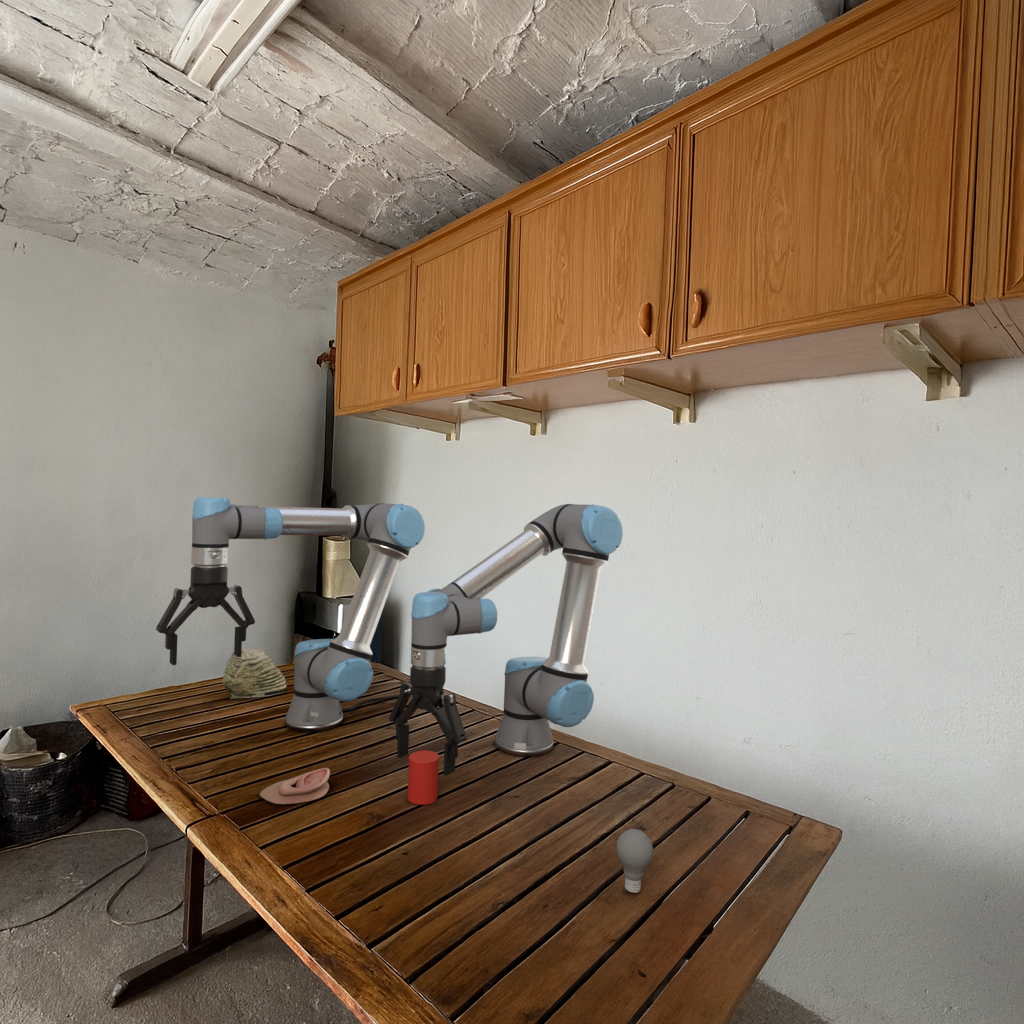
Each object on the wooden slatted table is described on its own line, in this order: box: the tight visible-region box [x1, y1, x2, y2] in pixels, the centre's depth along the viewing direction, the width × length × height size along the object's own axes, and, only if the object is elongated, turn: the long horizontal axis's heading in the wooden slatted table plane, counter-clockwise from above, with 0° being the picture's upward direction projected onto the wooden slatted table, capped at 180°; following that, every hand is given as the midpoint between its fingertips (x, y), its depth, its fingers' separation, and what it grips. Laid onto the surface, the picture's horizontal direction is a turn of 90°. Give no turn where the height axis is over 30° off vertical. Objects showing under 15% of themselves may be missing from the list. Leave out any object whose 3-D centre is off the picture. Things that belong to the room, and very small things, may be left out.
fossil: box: [222, 646, 288, 699], centre depth 198 cm, size 9×18×15 cm, turn 132°
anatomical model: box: [259, 767, 331, 805], centre depth 135 cm, size 13×4×12 cm
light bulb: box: [615, 828, 654, 894], centre depth 106 cm, size 6×6×10 cm
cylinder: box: [406, 750, 440, 806], centre depth 135 cm, size 6×6×9 cm
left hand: (206, 659), depth 143 cm, fingers open, 13 cm apart
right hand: (425, 764), depth 135 cm, fingers open, 13 cm apart
